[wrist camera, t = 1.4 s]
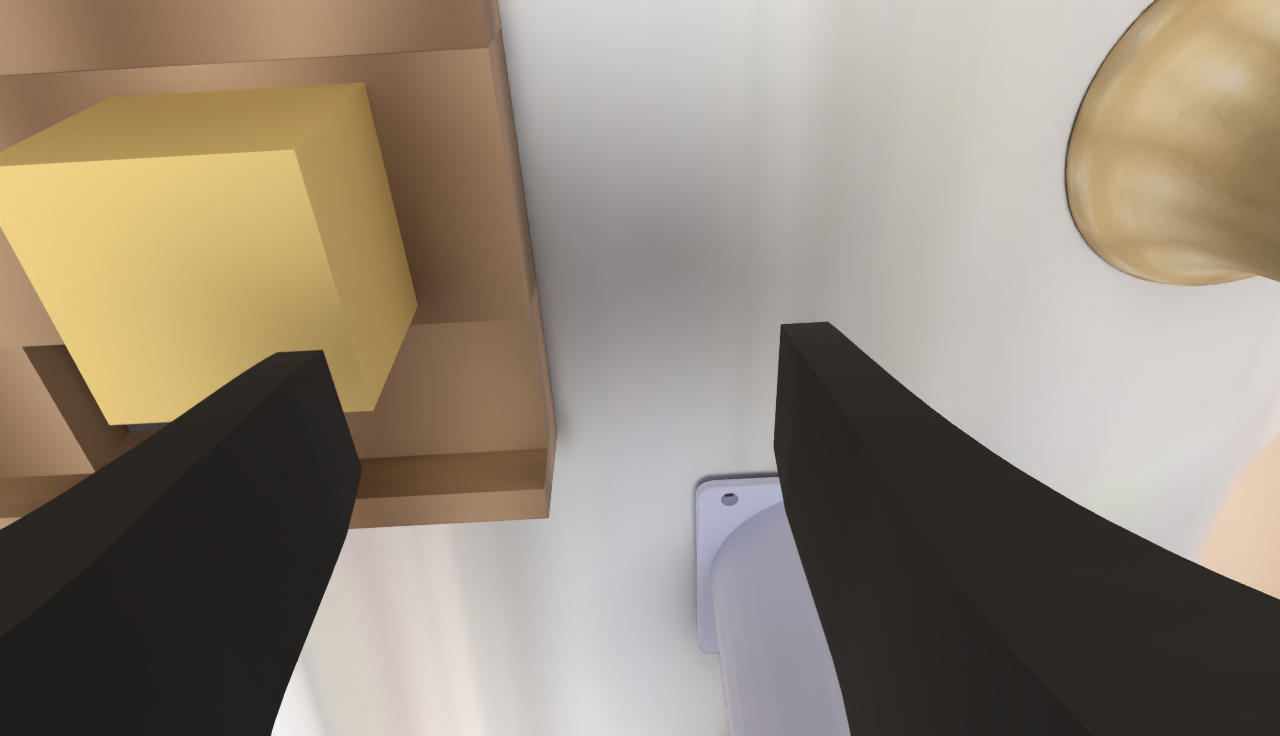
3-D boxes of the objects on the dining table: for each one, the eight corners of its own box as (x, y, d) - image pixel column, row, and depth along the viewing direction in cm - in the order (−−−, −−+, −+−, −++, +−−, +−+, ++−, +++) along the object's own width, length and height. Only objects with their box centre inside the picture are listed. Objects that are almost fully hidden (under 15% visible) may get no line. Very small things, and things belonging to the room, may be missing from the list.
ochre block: (363, 82, 15) (294, 150, 12) (417, 306, 18) (373, 410, 15) (109, 96, 15) (-32, 167, 12) (202, 317, 18) (109, 425, 15)
